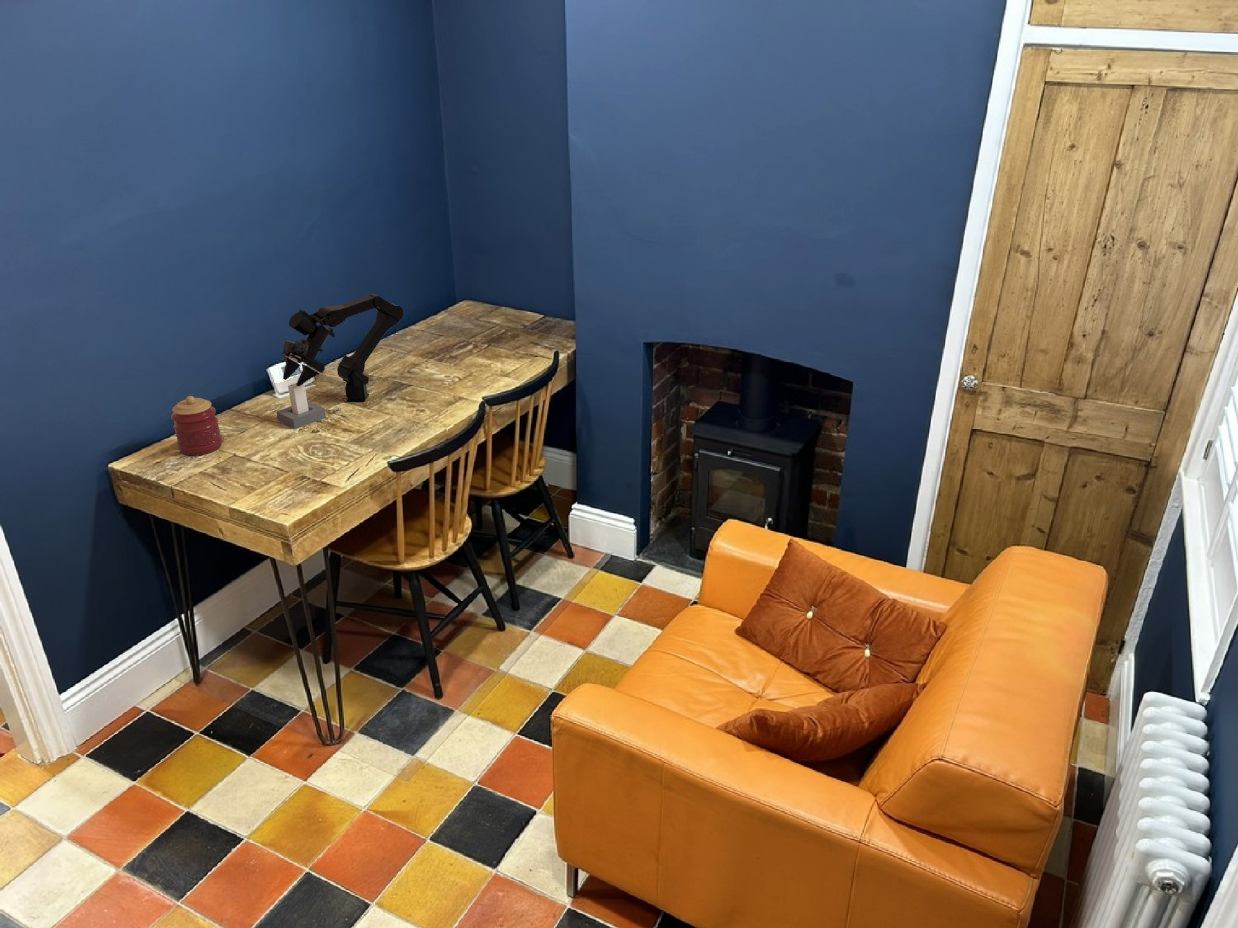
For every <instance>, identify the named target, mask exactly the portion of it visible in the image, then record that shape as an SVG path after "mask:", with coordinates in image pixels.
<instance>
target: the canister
mask: <svg viewBox="0 0 1238 928" xmlns="http://www.w3.org/2000/svg"><path fill="white" fill-rule="evenodd" d="M172 412H173V413H172V414H171V416H170V419H171V421H173V423H174V424H173V429H174V431H175V437H176V440H177V446H178V449H179V451H180V453H181V454H183V455H186V456H203V455H206V454H207V455H208V454H210V453H213V452H215V451H217V450H219V449H220V448H221V447H222V446H223V436H222V435H221V431H220V427H219V419H218V417H217V416H216V412H217V411H216V408H215V407H214V406H212V402H211V401H210V400H208V399H204V398H202V397H194V396H192V395H188V396H186V398H185V399H183V400H181V401H179V402H177V403H176V405H174V406H173V407H172Z"/></svg>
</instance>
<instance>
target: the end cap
mask: <svg viewBox="0 0 1238 928" xmlns="http://www.w3.org/2000/svg"><path fill="white" fill-rule="evenodd" d="M307 403H308V409H309V411H306V412H304V413H301V414H298V415H295V414H293V412H292V406H288V407H286V408H283V409H279V410H277V411H276V417H277V422H279V423H281V424H284V425H285V426H287V427H290V428H291V429H294V430H297V429H299V428H302V427H305V426H306V425H310V424H312V423H315V422H317V421H321V420H323V419H326V418H327V416H326V411H325V407H323V406H320V405H318V404H317V403H314V402H312V401H310V400H307Z"/></svg>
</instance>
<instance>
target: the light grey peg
mask: <svg viewBox="0 0 1238 928" xmlns="http://www.w3.org/2000/svg"><path fill="white" fill-rule="evenodd" d="M296 384H297V382H295V383H291V384H288V385H287V388H288V395H289V400H290V405H291V406H292V412H293V414H295V415H298V414H301V413H304V412H306V411H309V409H308V403H307V401H308V400H307V399H308V398H307V392H306V387H305V383H304V384H302V385H301V386H297V385H296ZM291 406H290V407H291Z"/></svg>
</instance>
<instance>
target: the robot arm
mask: <svg viewBox="0 0 1238 928" xmlns="http://www.w3.org/2000/svg"><path fill="white" fill-rule="evenodd" d="M373 309H374V310H376V311H377V313H376V319H375V320H376V321H375V322H374V324H373V325H372V327H371V328H370V330H369V331H368V332H367V334H366V335H365V337H364V338H363V339H362V341H361V342H360V344H359V345H358V346H357V348H356V349H355V351H354V352H353V353H352V354H351V355H350V356H348V355H343V357H342V359H341V360H340V362H338V363H337V368H336V372H337V375H338V377H339V378H341V379H342V381H343V382H345V388H344V391H345V396H346V402H347V403H348V402H349V403H351V402H352V403H354V402H357V403H365V402H366V401H367V399H368V398H369V396H370V393H368V388H367V385H368V383H369V380H370V378H369V377H368V376H367V375H365V374H364V372H365V369H366V367H365V366H366V362H367V361H368V359H369V357H370V356H371V355H372V353H373V352H374V350H375V349H376V348H377V346H378V345H379V343H380V342H381V340H382V339H383V338H384V336H385V335H386V334H387V332H388V331H389V330H390V329H391V328H393V327H395V326H397V325H398V323H400V321H402V320H403V318H404V316H405V315H404V314H405V313H404V309H403V308H402V306H400V305H397V304H394V303H392V302H389V301H387V300H385V299H384V298H382V297H381V296H380V295H378V294H373V293H370V294H368V295H367V296H364V297H361V298H359V299H354V300H353V301H349V302H347V303H343V304H340V305H327V306H322V307H320V308H319V309H318V311H315V312H313V313H311V314H309V313H308V312H307V311H305V310H302V309H299V311H297V312H296V313H295V312H294V314H293V315H292V316H291V317H290V319H289V322H288V326H289V328H291V329H292V330H295V331H296V332H297V333H300V334H301V335H303V336H306V337H305V339H303V338H302V339H300V340H296V341H292V340H287V339H285V340H284V341H283V347H282V352H281V354H282V357H283V358H284V361H285V366H284V369H283V370H284V371H283V375H282V376H283V377H282V380H285V381H286V380H288V379H289V378H290V377H291V376H292V375H293V374H294V373H295V372H296V370H298V369H299V368H300V367H301V368H302V370H301V372H300V374H299V377H298V379H297V380H296V383H297V384H296V385H297V386H301V385H302V384H304V385H305V383H306V382H308V381H310V380H311V379H312V378H315V376H318V375H320V374H323V373H324V371H325V370H326V366H325V364H324V363H322V362H320V361H318V360H317V359H316V358H317V356H318V355H319V353H322V352H323V349H322V347H323V345H324V344H325V342H326V340H327V339H328V336H329V337H332V338H335V333H334V329H333V328H334V327H335V328H336V327H338V326H340V325H341V324H342V323H344V322H345V320H347V319H348V318H351V317H353V316H356V315H359V314H362V313H364V312H367V311H370V310H373ZM318 324H319V325H318ZM326 326H327V327H326Z"/></svg>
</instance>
